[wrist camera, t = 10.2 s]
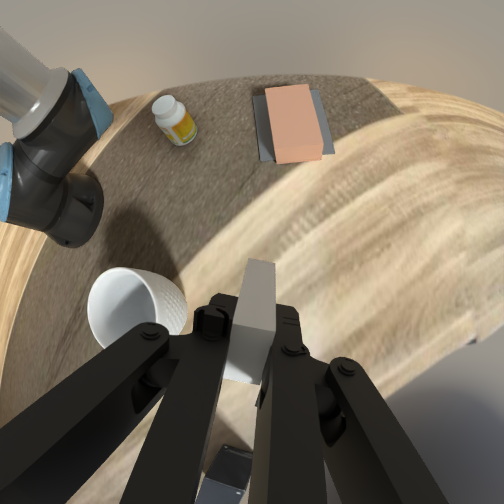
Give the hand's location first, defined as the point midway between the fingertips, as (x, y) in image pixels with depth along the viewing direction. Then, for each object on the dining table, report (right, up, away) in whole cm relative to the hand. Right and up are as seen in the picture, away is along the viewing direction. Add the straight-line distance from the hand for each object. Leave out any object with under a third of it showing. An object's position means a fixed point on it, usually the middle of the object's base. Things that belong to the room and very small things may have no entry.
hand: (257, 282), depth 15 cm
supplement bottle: (-13, +23, +30) cm, 40 cm away
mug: (-15, -7, +26) cm, 31 cm away
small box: (-4, -36, +20) cm, 41 cm away
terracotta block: (+7, +16, +23) cm, 28 cm away
